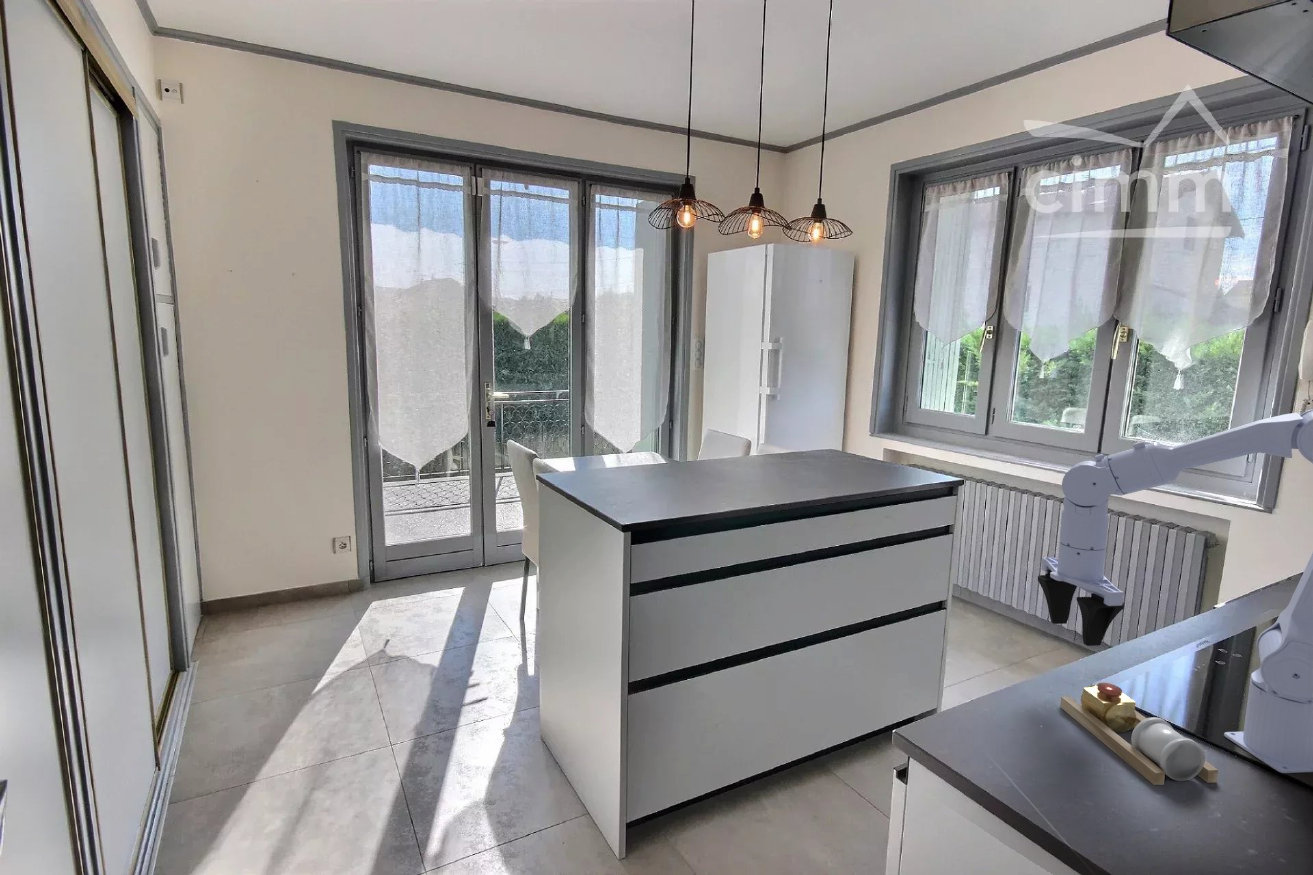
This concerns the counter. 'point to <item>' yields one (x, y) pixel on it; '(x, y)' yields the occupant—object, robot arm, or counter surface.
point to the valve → (1110, 706)
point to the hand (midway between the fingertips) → (1074, 633)
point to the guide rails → (1126, 744)
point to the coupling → (1168, 749)
